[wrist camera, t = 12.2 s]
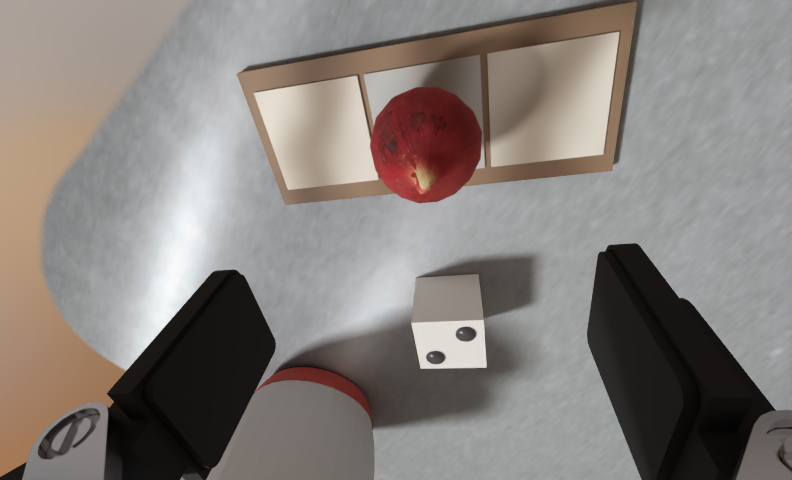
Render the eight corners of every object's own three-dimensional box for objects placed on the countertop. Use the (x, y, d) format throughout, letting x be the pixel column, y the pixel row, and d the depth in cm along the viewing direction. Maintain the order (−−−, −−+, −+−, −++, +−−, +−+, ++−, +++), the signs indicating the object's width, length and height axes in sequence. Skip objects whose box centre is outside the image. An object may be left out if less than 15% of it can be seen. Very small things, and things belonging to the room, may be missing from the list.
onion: (362, 129, 23) (330, 184, 17) (423, 50, 21) (413, 80, 14) (431, 186, 25) (426, 256, 18) (497, 120, 22) (518, 176, 16)
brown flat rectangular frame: (632, 1, 19) (638, 1, 18) (608, 166, 24) (613, 171, 23) (241, 71, 23) (235, 73, 22) (288, 201, 28) (284, 205, 27)
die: (478, 273, 30) (484, 320, 25) (481, 319, 32) (486, 368, 28) (415, 277, 30) (411, 323, 26) (423, 321, 33) (420, 369, 29)
